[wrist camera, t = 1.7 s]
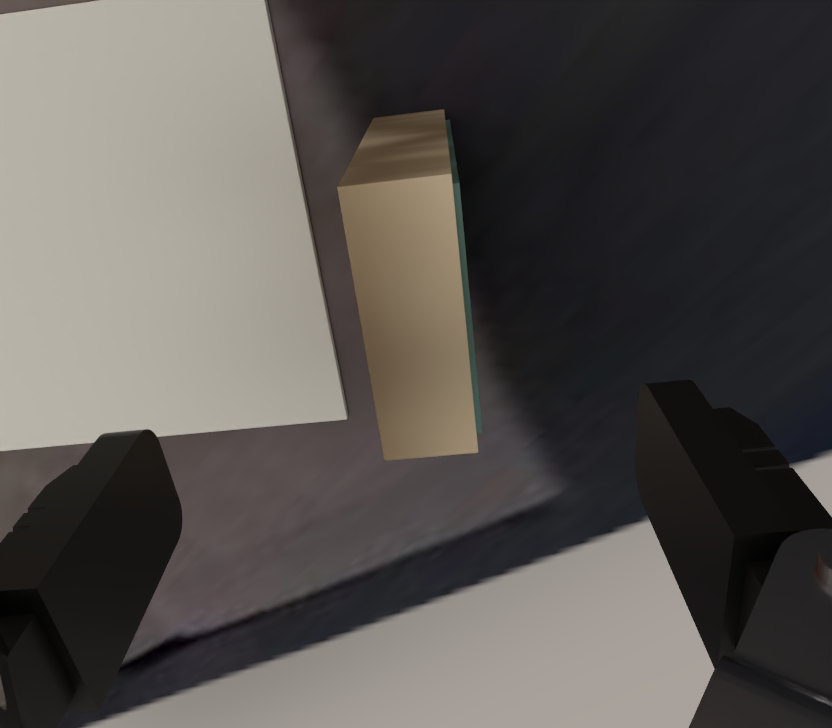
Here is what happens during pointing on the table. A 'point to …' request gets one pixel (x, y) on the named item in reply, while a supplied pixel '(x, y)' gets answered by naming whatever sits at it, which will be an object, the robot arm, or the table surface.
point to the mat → (154, 228)
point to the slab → (413, 285)
